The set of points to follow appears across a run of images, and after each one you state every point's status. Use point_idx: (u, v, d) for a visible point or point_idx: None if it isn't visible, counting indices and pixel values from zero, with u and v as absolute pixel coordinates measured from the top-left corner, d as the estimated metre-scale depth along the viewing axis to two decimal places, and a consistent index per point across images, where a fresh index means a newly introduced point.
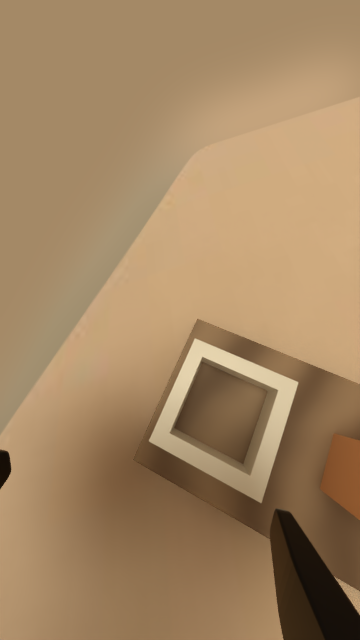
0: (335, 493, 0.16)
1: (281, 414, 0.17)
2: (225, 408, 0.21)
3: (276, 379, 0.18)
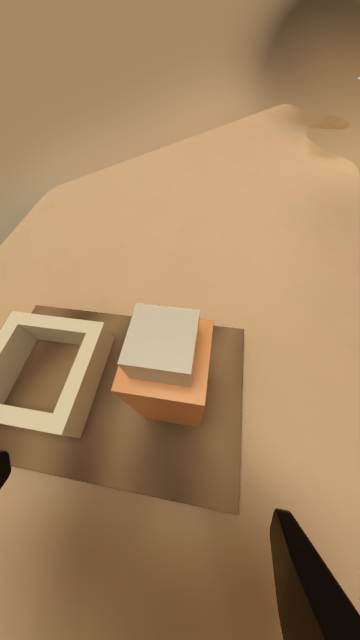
0: None
1: (87, 351, 0.18)
2: (57, 373, 0.21)
3: (84, 325, 0.20)
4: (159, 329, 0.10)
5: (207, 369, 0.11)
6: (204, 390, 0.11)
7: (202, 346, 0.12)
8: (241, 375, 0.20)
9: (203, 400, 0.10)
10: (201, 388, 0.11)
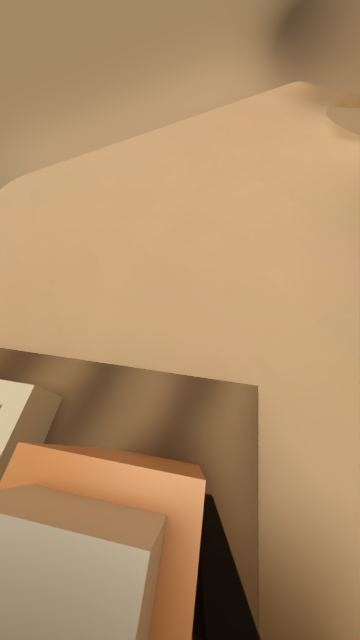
0: None
1: None
2: None
3: (3, 389, 0.12)
4: None
5: None
6: None
7: (173, 583, 0.04)
8: (255, 470, 0.12)
9: None
10: None
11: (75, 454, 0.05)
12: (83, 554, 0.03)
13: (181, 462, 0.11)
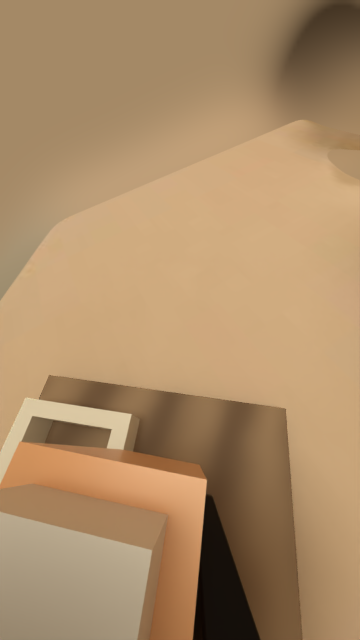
0: None
1: None
2: None
3: (109, 417, 0.17)
4: None
5: None
6: None
7: (174, 581, 0.04)
8: (288, 471, 0.17)
9: None
10: None
11: (76, 453, 0.05)
12: (85, 553, 0.03)
13: (181, 462, 0.11)
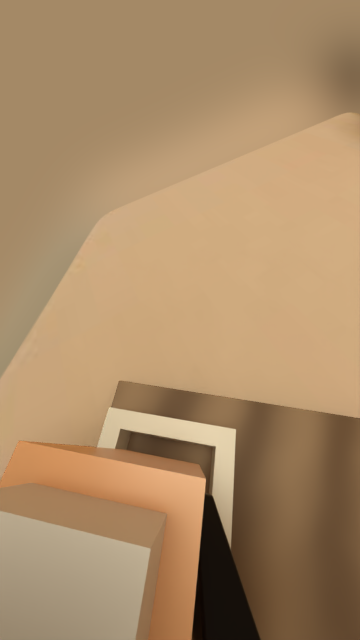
0: None
1: (225, 478, 0.14)
2: None
3: (211, 433, 0.15)
4: None
5: None
6: None
7: (173, 580, 0.04)
8: None
9: None
10: None
11: (75, 453, 0.05)
12: (84, 551, 0.03)
13: (181, 461, 0.11)
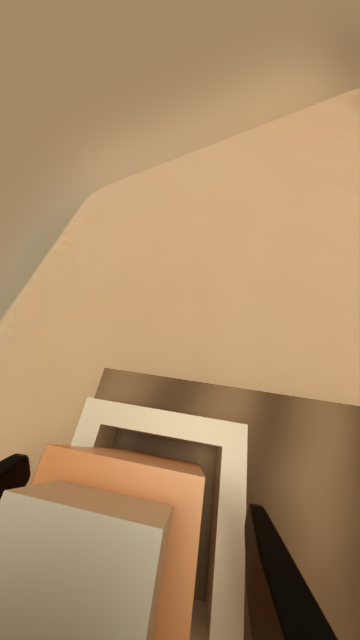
0: None
1: (235, 488, 0.10)
2: None
3: (215, 429, 0.12)
4: (40, 611, 0.03)
5: None
6: None
7: (178, 559, 0.05)
8: None
9: None
10: None
11: (95, 455, 0.06)
12: (113, 531, 0.04)
13: (183, 461, 0.12)
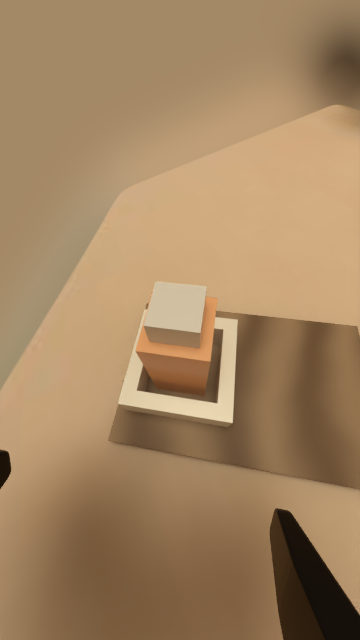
0: None
1: (230, 346, 0.20)
2: None
3: (219, 322, 0.21)
4: (174, 301, 0.13)
5: (212, 335, 0.14)
6: (210, 350, 0.13)
7: (208, 318, 0.14)
8: None
9: (209, 357, 0.13)
10: (207, 349, 0.13)
11: None
12: (192, 287, 0.13)
13: None
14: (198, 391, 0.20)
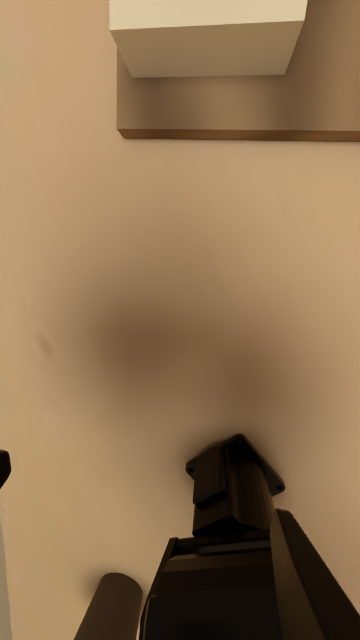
0: None
1: None
2: None
3: None
4: None
5: None
6: None
7: None
8: None
9: None
10: None
11: None
12: None
13: None
14: None
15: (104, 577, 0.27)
